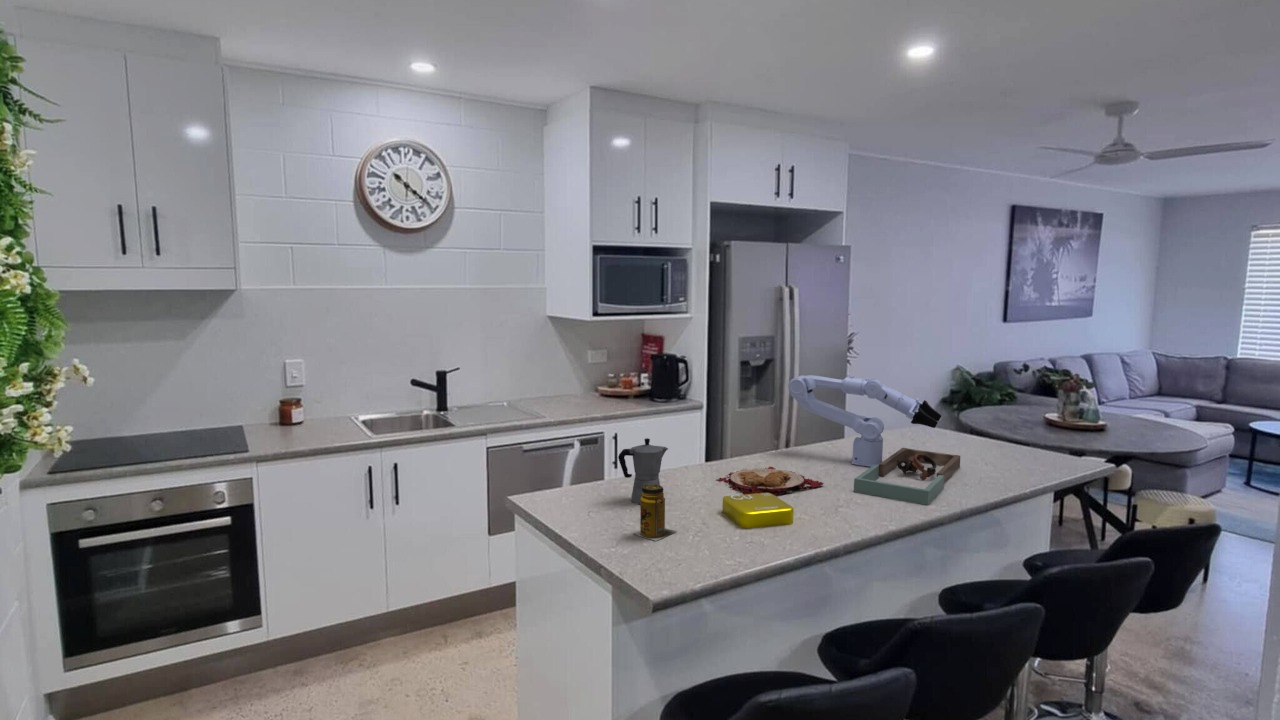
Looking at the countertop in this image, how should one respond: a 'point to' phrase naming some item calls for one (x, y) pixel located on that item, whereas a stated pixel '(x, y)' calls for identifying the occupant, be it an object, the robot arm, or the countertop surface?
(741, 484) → the plate with food
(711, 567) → the countertop surface
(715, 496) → the countertop surface
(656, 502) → the condiment
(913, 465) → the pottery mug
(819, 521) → the countertop surface
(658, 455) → the coffeepot
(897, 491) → the frame
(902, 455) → the brown wooden frame
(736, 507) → the element tile
